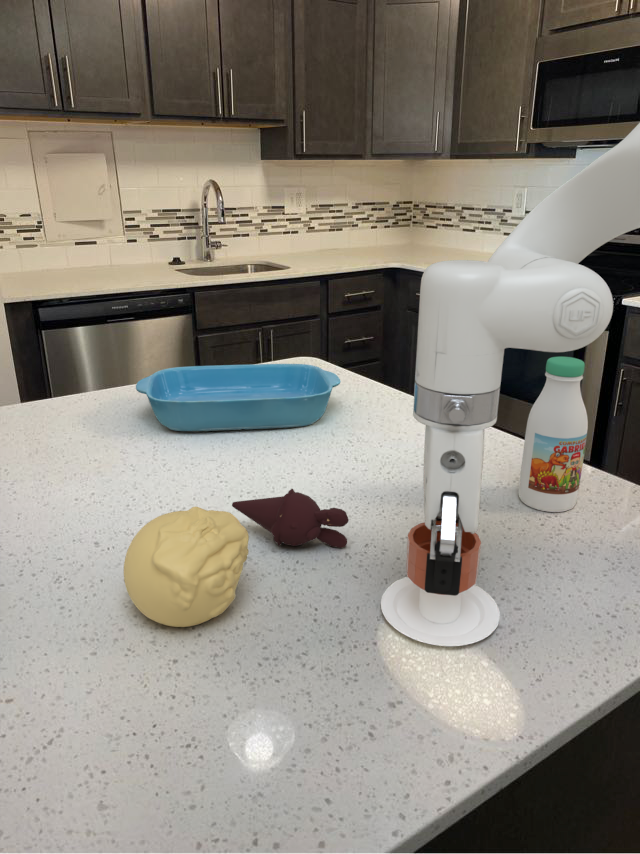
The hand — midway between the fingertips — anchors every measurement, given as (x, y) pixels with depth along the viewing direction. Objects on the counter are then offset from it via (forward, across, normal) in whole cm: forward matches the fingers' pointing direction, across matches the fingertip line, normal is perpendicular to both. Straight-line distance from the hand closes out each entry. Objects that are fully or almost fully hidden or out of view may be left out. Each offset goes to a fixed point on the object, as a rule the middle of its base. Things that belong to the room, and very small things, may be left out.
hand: (441, 568), depth 66 cm
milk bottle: (+5, +28, -14) cm, 32 cm away
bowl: (+1, 0, 0) cm, 1 cm away
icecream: (+6, +11, +18) cm, 22 cm away
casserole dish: (+6, +53, +37) cm, 65 cm away
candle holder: (+6, 0, 0) cm, 6 cm away
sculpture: (+6, -4, +26) cm, 27 cm away
